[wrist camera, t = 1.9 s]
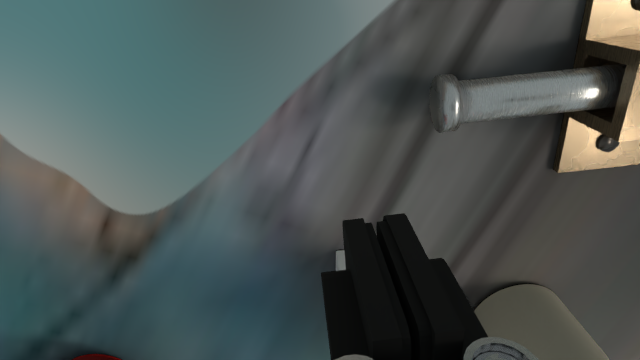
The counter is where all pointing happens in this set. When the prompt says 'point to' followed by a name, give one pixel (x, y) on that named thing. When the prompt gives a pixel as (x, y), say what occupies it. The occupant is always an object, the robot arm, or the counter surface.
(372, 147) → the counter surface
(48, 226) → the counter surface
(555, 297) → the travel mug
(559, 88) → the pin
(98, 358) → the ceramic cup
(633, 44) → the hinge
